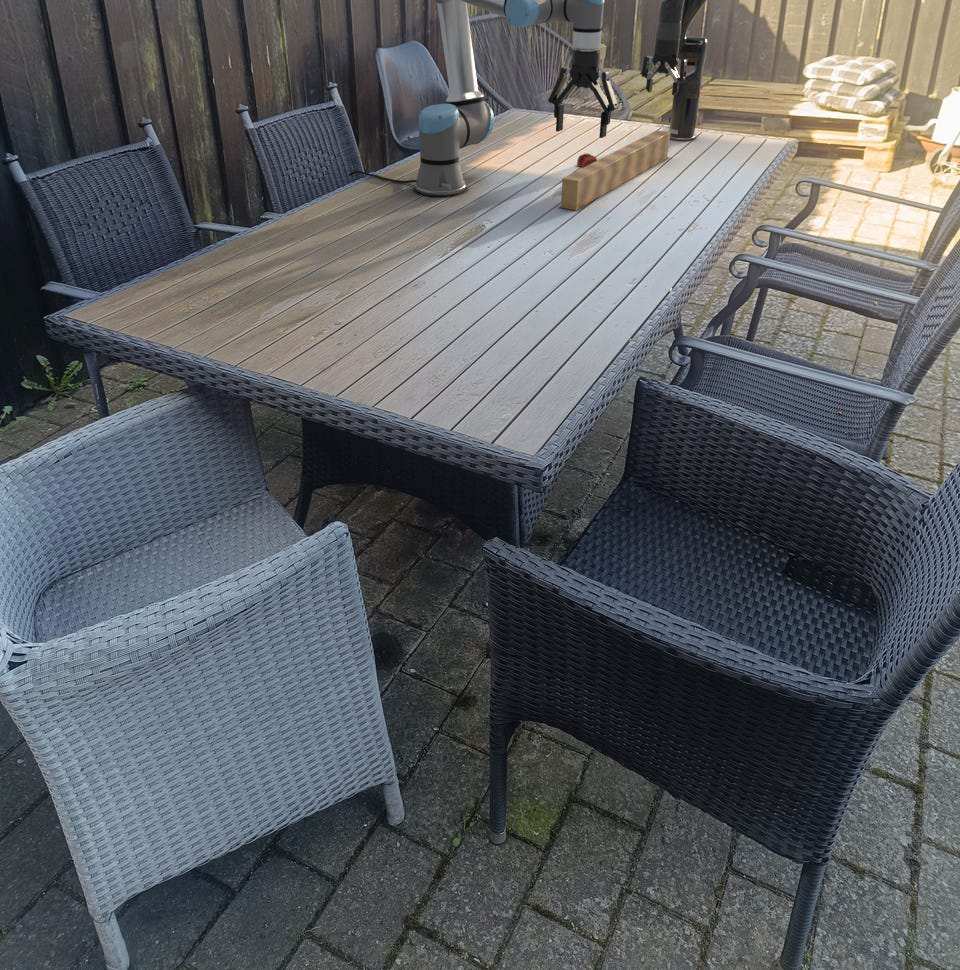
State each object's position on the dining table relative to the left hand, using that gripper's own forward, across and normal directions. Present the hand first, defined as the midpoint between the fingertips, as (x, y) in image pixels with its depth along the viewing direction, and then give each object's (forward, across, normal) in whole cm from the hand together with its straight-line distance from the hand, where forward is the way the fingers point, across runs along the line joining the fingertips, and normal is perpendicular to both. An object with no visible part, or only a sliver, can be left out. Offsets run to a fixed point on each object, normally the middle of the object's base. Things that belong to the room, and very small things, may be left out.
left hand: (580, 133), depth 235 cm
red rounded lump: (+20, +15, -37) cm, 45 cm away
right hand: (-1, 0, -57) cm, 57 cm away
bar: (+20, 0, -29) cm, 35 cm away
